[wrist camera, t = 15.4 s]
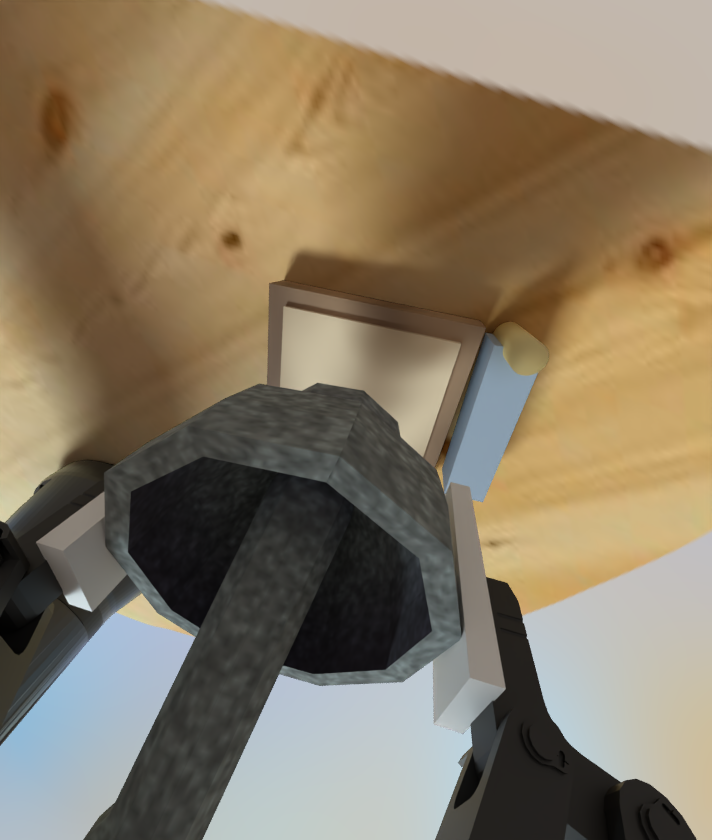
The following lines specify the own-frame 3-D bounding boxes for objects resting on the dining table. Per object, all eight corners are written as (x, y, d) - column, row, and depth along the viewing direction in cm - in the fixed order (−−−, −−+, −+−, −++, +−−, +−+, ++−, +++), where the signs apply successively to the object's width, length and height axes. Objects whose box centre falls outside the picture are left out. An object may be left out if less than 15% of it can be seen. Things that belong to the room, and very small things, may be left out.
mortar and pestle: (268, 294, 11) (-1177, 701, 1) (494, 406, 12) (981, 1514, 1) (217, 493, 17) (-102, 864, 7) (370, 565, 17) (289, 1022, 7)
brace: (489, 318, 18) (507, 336, 14) (535, 325, 17) (566, 346, 14) (442, 468, 23) (445, 511, 19) (476, 475, 23) (487, 520, 19)
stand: (276, 440, 25) (264, 457, 23) (283, 280, 19) (266, 283, 17) (424, 478, 24) (424, 498, 22) (480, 320, 18) (486, 329, 16)
